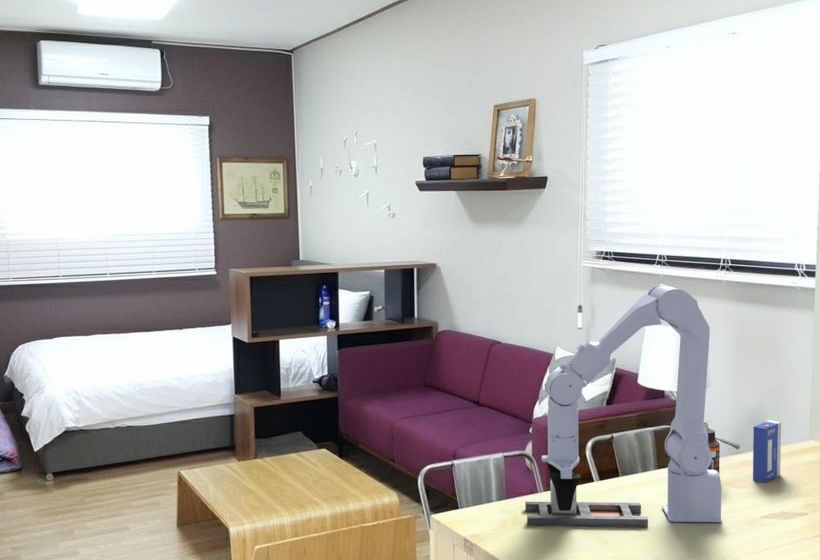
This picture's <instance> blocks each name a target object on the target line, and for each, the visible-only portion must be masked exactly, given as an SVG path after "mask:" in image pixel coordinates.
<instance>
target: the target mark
mask: <svg viewBox="0 0 820 560" xmlns="http://www.w3.org/2000/svg"><path fill="white" fill-rule="evenodd" d="M590 512H591V515H592V516H621V515H620V513H619V512H594V511H590Z"/></svg>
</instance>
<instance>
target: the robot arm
mask: <svg viewBox="0 0 820 560" xmlns="http://www.w3.org/2000/svg"><path fill="white" fill-rule="evenodd" d="M661 320H662V321H665V322H666V323H667V324H668V325H669V326H670V327H671V328H672V329H673V330H675V332H676V333H678V335H679V336H680V337H679V341H680V342H679V351H678V352H679V356H678V367H677V368H678V369H677V383H676V384H677V386H676V401H675V402H676V403H675V414H674V418H673V419H672V421H671V422H670V429H669V433H668V435H667V436H666V438H665V439H664V450H665V453H666V454H667V456H668V457H669V458H670V459H669V462H668V464H667V504H663V505H661V508H662V510H663V511H664V513H665V515H666V516H667V519H668V520H669V522H671V523H672V522H673V523H674V522H675V523H722V522H723V519H722V481H721V477H720V472H719V473H718V471H717V470H709V469H708V468H709V466H710V464H711V461H712V453H711V451H710V448H709V446H708V434H707V431H706V429H707V428H706V424H705V411H706V410H705V407H706V396H707V394H706V393H707V381H708V380H707V379H708V378H707V377H708V364H709V353H710V352H709V350H710V334H711V329H710V326H709V323H708V322H707V320H706V319H705V316H704V314H703V312H702V310H701V308H700V307H699V304H698V300H697V299H696V298H694V297H693V296H692V295H691V294H689V293H688V292H687V291H685V290H683V289H681V288H675V287H672V286H671V285H669V284H661V283H660V284H656V285H655V286H653V287H651V289H650V290H649V291H648V293H647V294H646V293H645V294H643V295H642V296H640V297H639V298H638V300H637V301H635V303H634V304H633V305H632V306H631V307H630V308H629V309H628V310H627V311H626V312H625V313H624V314H623V316H621V318H619V319H618V320H617V322H616V323H615V324H614V325H613V326H612V327H611V328H610V329H609V330H608V331H606V333H605V334H604V335H603V336H602V337H601V338H600V339H599V340H598V341H588V342H586V343H585V344H582V343H581V344H579V345H578V346H577V347H576V349H577V350H578V351H576V353H575V354H574V355H573V356H571V357H570V358H569V359H568V360H567V361H566V362H565V363H563V362H562V363H561V364H559V365H558V367H559V369H558V370H553V371H552V372H551V373H549V374H548V376H547V378H546V381H545V383H544V389H545V391H546V393H547V394H548V395H549V396H548V401H547V406H548V409H547V455H546V454H545V455H543V454H542V456H541V461H542V463H543V462H544V463H545V462H546V465H547V467H548V469H549V471H550V472H549V479H550V478H551V480H552V482H553V485H554V487H555V491H556V497H557V503H558V507H559V510H560V511H570V510H571V507H572V502H573V497H574V492H575V489H576V490H577V486H578V485H579V483H580V481H581V474H576V473H574V472H575V469H576V467H577V465H578V464H579V463H580V456H579V410H578V401H579V400H580V398H581V397H582V393H583V389H584V388H585V387H587V386H588V385H589V384H590V383H591V382H592V381H594V379H595V378H596V377H598V376H599V375H600V374H601V373H602V372H603V371H604V370H605V369H606V368H608V366H610V364H611V355H612V353H614V352H615V351H616V350H618V348H620V347H621V346H622V345H623V344H624V343H625V342H627V341H628V340H629V339H630V338H632V337H633V335H635V334H636V333H637V332H638V331H640V330H641V329H642V328H643V327H649V326H658V325H661V324H662V323H663V322H662V321H661ZM572 473H574V474H572Z"/></svg>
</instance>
